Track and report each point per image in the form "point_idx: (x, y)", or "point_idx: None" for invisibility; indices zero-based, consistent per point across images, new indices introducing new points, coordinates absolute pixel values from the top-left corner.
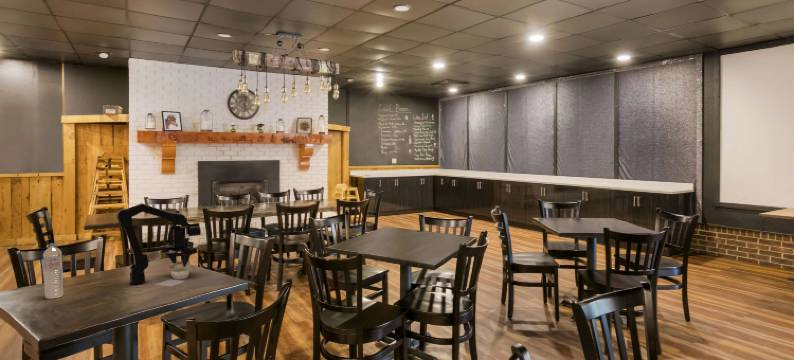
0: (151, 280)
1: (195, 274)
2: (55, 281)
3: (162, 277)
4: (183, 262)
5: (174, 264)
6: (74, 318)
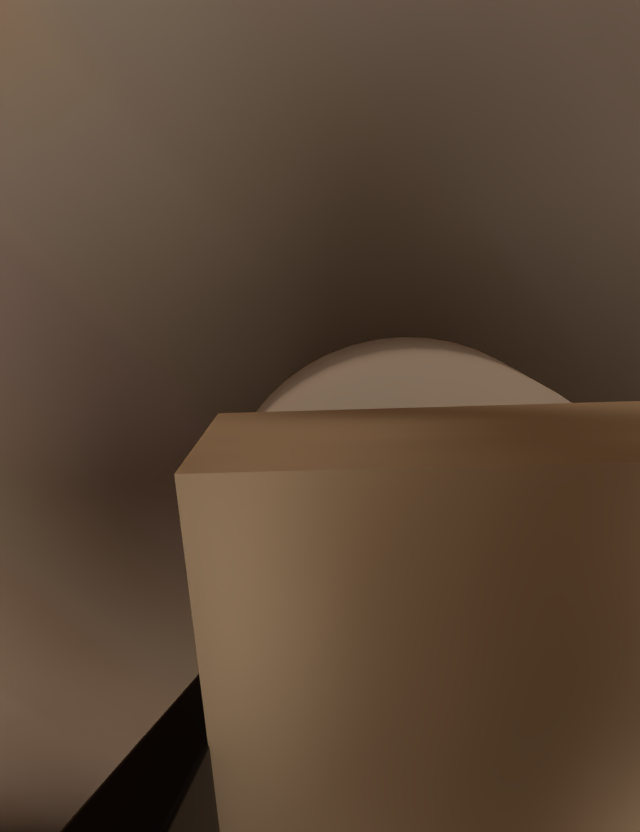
0: (43, 728)
1: (489, 114)
2: None
3: (31, 554)
4: None
5: None
6: None
